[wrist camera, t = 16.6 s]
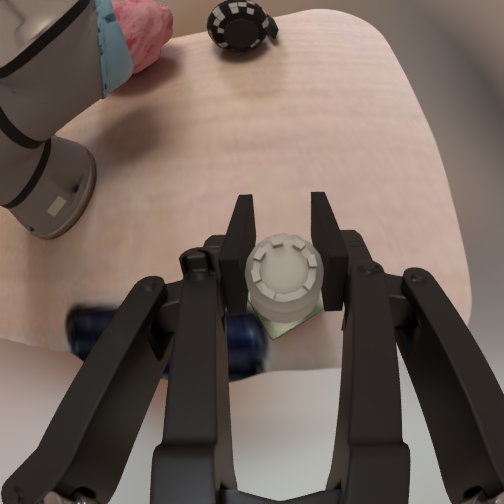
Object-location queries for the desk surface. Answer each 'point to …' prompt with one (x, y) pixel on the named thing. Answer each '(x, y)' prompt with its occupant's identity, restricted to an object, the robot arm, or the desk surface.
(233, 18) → the grenade
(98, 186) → the desk surface
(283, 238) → the rook chess piece
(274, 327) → the block stack
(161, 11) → the decorative rock
